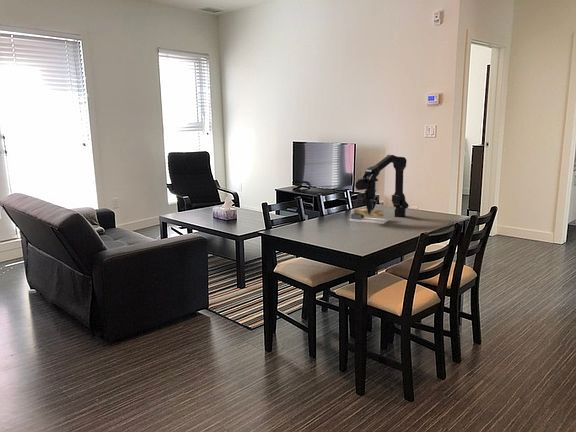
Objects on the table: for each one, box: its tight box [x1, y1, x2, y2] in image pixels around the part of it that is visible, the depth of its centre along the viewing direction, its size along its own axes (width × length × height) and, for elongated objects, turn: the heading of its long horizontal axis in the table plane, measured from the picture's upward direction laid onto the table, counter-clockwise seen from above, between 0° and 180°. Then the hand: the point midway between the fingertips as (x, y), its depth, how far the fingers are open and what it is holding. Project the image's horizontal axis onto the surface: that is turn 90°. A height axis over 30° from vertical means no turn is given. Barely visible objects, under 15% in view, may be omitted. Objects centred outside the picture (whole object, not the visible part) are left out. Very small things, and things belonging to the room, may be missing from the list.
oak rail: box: [353, 208, 384, 218], centre depth 294 cm, size 18×4×3 cm, turn 61°
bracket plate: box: [349, 212, 388, 225], centre depth 295 cm, size 22×9×4 cm, turn 63°
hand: (370, 213), depth 294 cm, fingers closed on oak rail, 4 cm apart
